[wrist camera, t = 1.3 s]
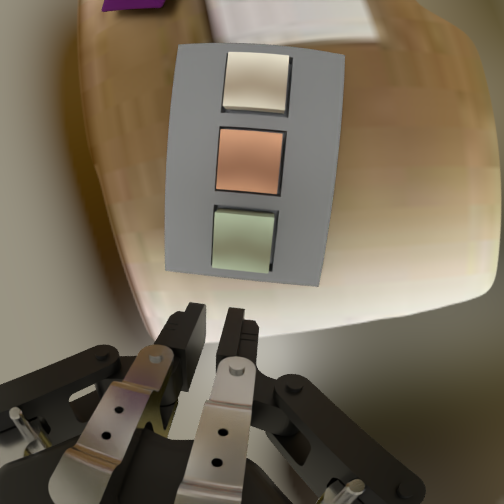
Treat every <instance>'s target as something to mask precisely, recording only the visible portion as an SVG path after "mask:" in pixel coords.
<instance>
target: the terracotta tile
mask: <svg viewBox="0 0 504 504" xmlns="http://www.w3.org/2000/svg"><path fill="white" fill-rule="evenodd" d="M282 136H283V134H280V133H270V132H259V131H245V130H229V129H221V131H220V143H219V156H218V169H217V184H216V189H225V190H238V191H249V192H260V193H270V194H277V188H278V178H279V168H280V157H281V146H282Z"/></svg>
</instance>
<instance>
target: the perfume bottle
mask: <svg viewBox="0 0 504 504" xmlns="http://www.w3.org/2000/svg"><path fill="white" fill-rule="evenodd" d="M164 3H165V0H104V3H103V7H102V11H103V12H107V11H116V10H127V9H143V8H161V7H163V5H164Z"/></svg>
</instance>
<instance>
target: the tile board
mask: <svg viewBox="0 0 504 504" xmlns="http://www.w3.org/2000/svg"><path fill="white" fill-rule="evenodd" d="M228 52H251V53H267V54H279V55H289V64H288V77H287V89H286V101H285V111H284V114H282V113H272V112H260V111H246V110H227V109H225V108H224V107H223V98H224V88H225V78H226V69H227V60H228ZM344 68H345V55H341V54H336V53H330V52H325V51H319V50H312V49H305V48H297V47H288V46H278V45H266V44H247V43H200V44H182V45H178V52H177V59H176V66H175V74H174V82H173V90H172V99H171V109H170V120H169V133H168V147H167V164H166V187H165V271H173V272H181V273H189V274H198V275H206V276H215V277H224V278H233V279H243V280H252V281H262V282H272V283H282V284H293V285H304V286H315V287H319V282H320V276H321V271H322V265H323V260H324V254H325V248H326V242H327V235H328V229H329V222H330V215H331V208H332V201H333V194H334V186H335V178H336V169H337V160H338V151H339V140H340V130H341V118H342V104H343V88H344ZM221 129H229V130H245V131H259V132H270V133H280V134H283V136H282V146H281V157H280V168H279V178H278V188H277V194H270V193H260V192H249V191H238V190H225V189H216V184H217V169H218V156H219V143H220V131H221ZM219 208H223V209H234V210H245V211H256V212H266V213H274V227H273V236H272V245H271V254H270V263H269V272H268V274H267V273H257V272H248V271H238V270H229V269H219V268H212V259H213V236H214V217H215V212H216V211H217V210H218V209H219Z"/></svg>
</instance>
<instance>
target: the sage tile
mask: <svg viewBox="0 0 504 504" xmlns="http://www.w3.org/2000/svg"><path fill="white" fill-rule="evenodd" d="M273 227H274V213H266V212H256V211H245V210H234V209H223V208H219V209H218V210H217V211H216V212H215V217H214V236H213V259H212V268H219V269H229V270H238V271H248V272H257V273H267V274H268V272H269V263H270V254H271V245H272V236H273Z"/></svg>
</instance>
